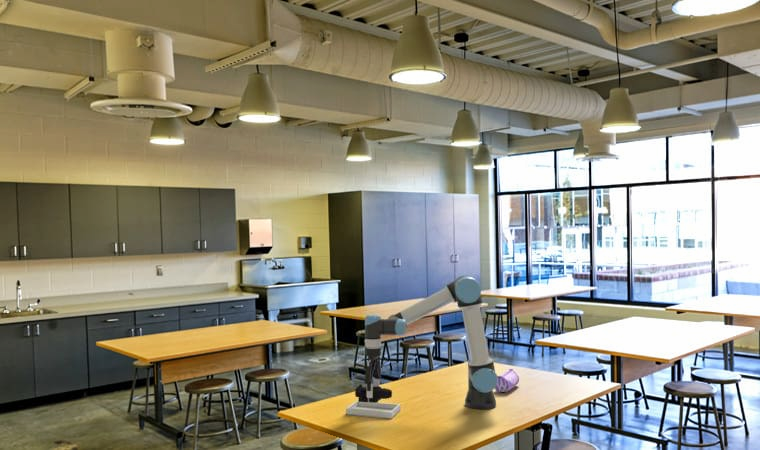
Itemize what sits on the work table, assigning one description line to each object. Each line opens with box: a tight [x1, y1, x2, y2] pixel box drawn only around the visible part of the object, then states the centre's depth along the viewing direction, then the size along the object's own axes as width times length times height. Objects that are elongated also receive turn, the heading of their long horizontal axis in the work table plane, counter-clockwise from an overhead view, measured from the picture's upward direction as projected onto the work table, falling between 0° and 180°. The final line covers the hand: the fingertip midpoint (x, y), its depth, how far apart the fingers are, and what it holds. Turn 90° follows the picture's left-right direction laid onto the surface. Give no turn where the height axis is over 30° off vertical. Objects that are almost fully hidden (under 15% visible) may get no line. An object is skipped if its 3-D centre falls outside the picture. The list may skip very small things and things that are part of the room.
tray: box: [345, 400, 402, 420], centre depth 284 cm, size 22×14×3 cm, turn 71°
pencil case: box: [494, 368, 520, 393], centre depth 326 cm, size 22×9×10 cm, turn 153°
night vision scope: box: [354, 383, 393, 403], centre depth 283 cm, size 8×18×10 cm
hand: (373, 395), depth 284 cm, fingers closed on night vision scope, 9 cm apart
